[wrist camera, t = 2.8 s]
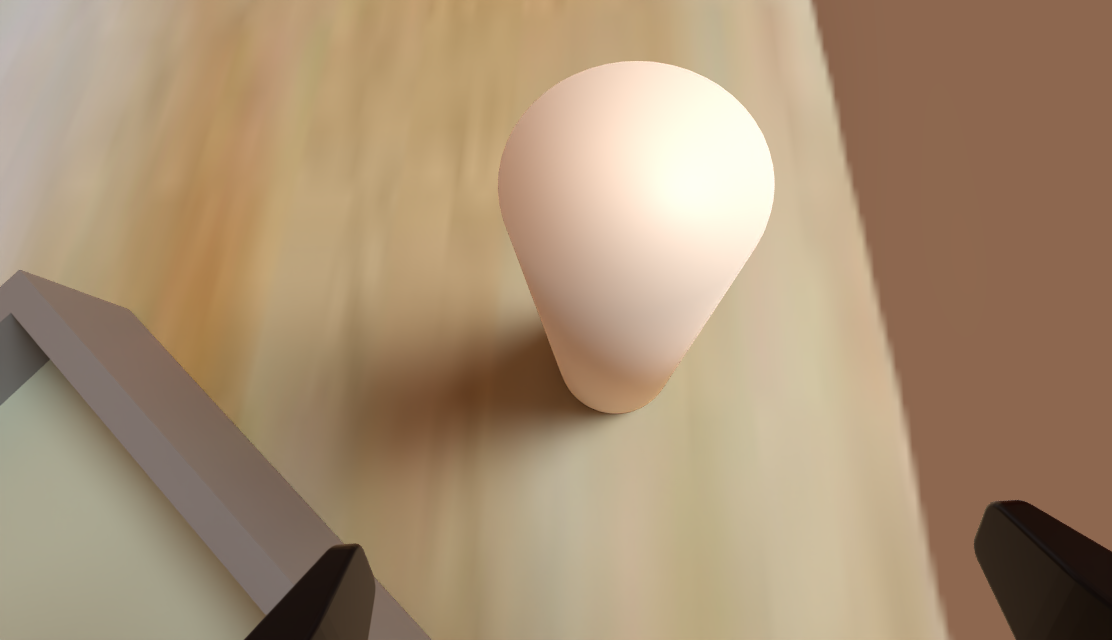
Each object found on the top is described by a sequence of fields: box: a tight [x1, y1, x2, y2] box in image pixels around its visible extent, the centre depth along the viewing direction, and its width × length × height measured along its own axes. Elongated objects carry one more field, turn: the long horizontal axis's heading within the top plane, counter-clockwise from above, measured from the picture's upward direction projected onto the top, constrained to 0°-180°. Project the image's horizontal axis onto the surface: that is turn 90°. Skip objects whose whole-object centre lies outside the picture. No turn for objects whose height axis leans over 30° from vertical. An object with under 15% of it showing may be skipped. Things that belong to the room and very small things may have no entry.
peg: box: [498, 61, 774, 414], centre depth 15 cm, size 4×4×13 cm
